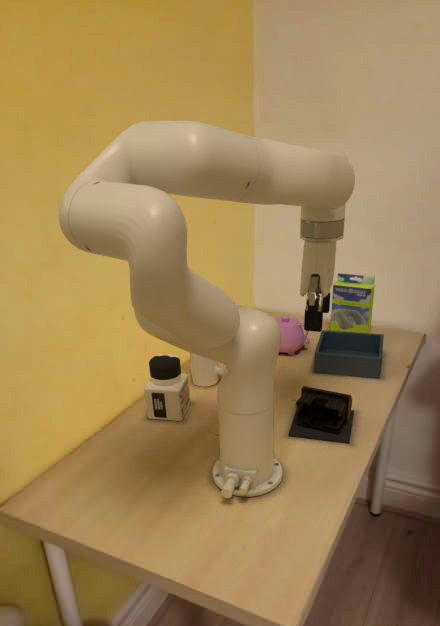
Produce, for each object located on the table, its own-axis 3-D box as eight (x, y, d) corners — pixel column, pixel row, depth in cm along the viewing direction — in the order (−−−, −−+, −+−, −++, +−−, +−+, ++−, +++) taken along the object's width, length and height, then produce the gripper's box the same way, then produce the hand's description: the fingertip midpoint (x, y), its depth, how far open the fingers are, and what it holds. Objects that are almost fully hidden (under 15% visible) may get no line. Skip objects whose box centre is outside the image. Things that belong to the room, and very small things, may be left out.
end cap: (351, 418, 112) (353, 389, 109) (341, 435, 106) (343, 406, 103) (305, 408, 116) (306, 380, 113) (293, 424, 111) (294, 396, 107)
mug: (186, 384, 129) (182, 338, 124) (200, 372, 134) (197, 327, 129) (222, 392, 125) (220, 345, 119) (236, 380, 130) (234, 334, 124)
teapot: (305, 359, 138) (307, 326, 134) (249, 354, 143) (248, 321, 138) (312, 343, 147) (314, 311, 142) (259, 338, 151) (259, 307, 147)
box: (328, 337, 150) (332, 276, 141) (333, 332, 153) (336, 272, 145) (367, 343, 146) (373, 280, 137) (370, 337, 149) (376, 276, 140)
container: (182, 421, 114) (177, 367, 108) (147, 419, 116) (140, 365, 110) (190, 403, 121) (186, 351, 115) (158, 401, 123) (152, 349, 116)
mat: (349, 443, 105) (349, 441, 105) (288, 436, 108) (288, 434, 108) (354, 412, 115) (354, 410, 115) (297, 406, 118) (297, 404, 118)
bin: (379, 378, 127) (382, 358, 125) (313, 372, 132) (314, 353, 129) (381, 353, 140) (383, 334, 137) (321, 348, 144) (321, 330, 141)
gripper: (308, 218, 102) (305, 304, 110) (290, 239, 88) (288, 336, 96) (349, 219, 100) (342, 307, 108) (337, 241, 86) (331, 340, 94)
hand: (317, 321), depth 102 cm, fingers open, 9 cm apart
